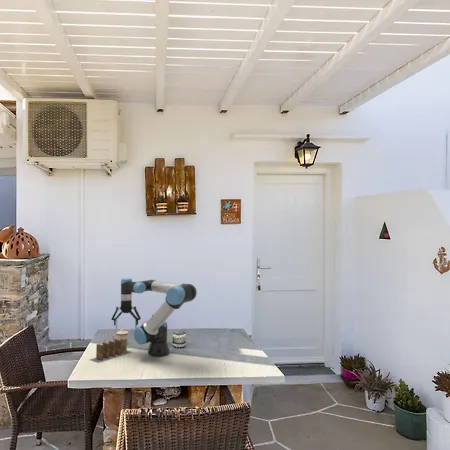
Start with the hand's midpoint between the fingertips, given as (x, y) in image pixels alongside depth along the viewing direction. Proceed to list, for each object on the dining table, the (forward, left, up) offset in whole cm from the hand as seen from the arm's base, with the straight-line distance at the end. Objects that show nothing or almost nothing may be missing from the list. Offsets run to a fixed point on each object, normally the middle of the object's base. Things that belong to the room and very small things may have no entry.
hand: (126, 329), depth 300 cm
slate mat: (+1, +12, -16) cm, 20 cm away
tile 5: (+1, +22, -16) cm, 27 cm away
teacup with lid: (+20, -11, -17) cm, 28 cm away
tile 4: (+1, +17, -16) cm, 23 cm away
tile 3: (+1, +12, -16) cm, 20 cm away
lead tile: (0, +2, -16) cm, 16 cm away
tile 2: (+1, +7, -16) cm, 17 cm away
